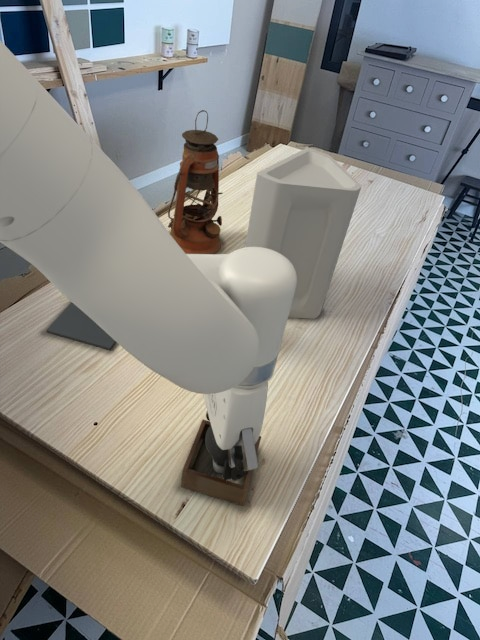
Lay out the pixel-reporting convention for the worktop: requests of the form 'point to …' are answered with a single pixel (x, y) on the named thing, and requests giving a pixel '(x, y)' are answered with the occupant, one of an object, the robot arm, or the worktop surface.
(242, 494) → the crate
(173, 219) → the lantern
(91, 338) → the mat
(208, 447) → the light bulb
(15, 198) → the robot arm
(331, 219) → the triangular concrete planter
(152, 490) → the worktop surface
